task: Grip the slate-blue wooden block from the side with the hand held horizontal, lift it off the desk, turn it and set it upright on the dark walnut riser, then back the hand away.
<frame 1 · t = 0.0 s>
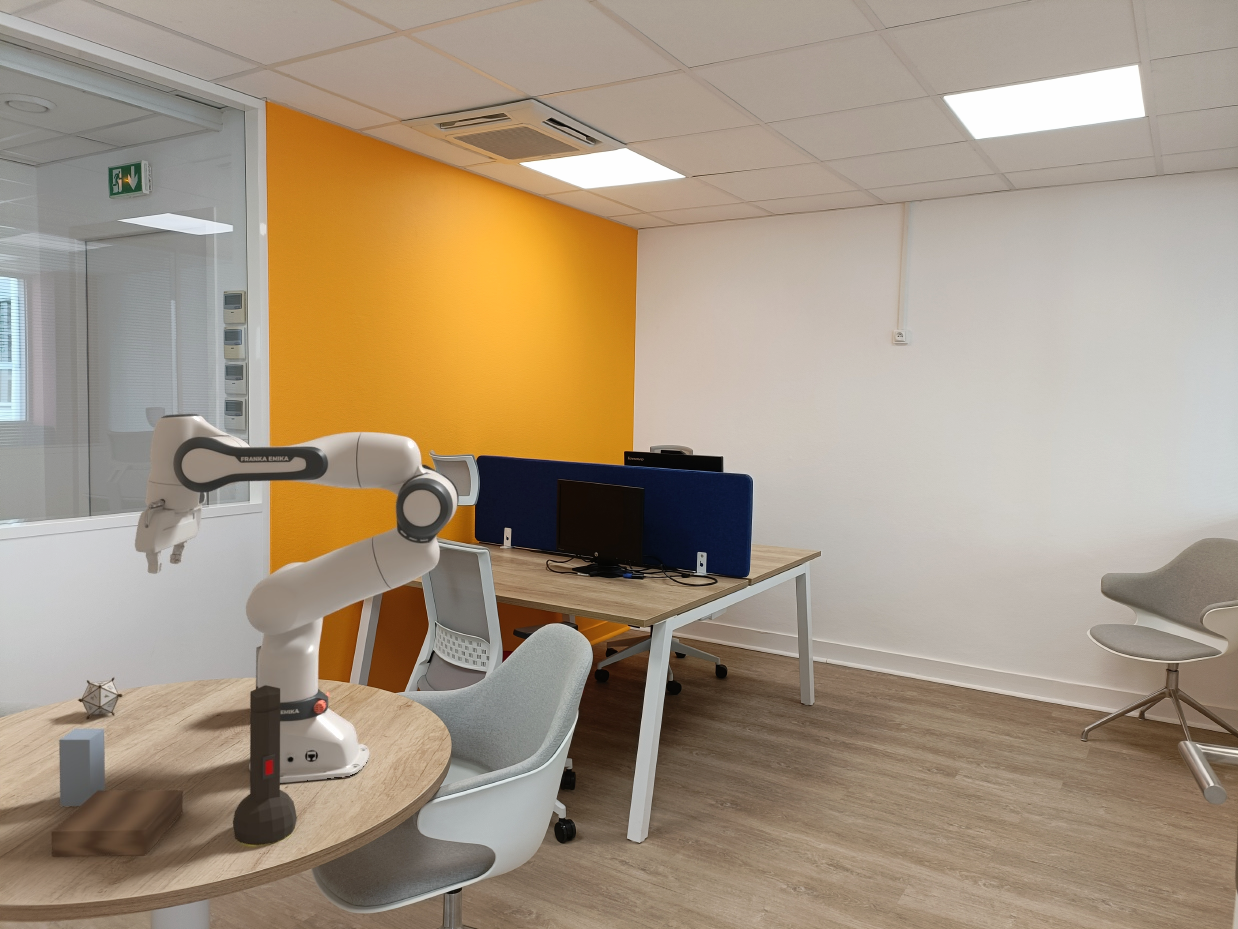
hand: (165, 567, 164), 39 cm above the table, tool pointing down, fingers open, 8 cm apart
walnut riser: (120, 833, 141), on the table
slate block: (83, 800, 152), on the table
game die: (100, 716, 191), on the table
flashlight: (265, 832, 143), on the table
coffee box: (279, 712, 196), on the table
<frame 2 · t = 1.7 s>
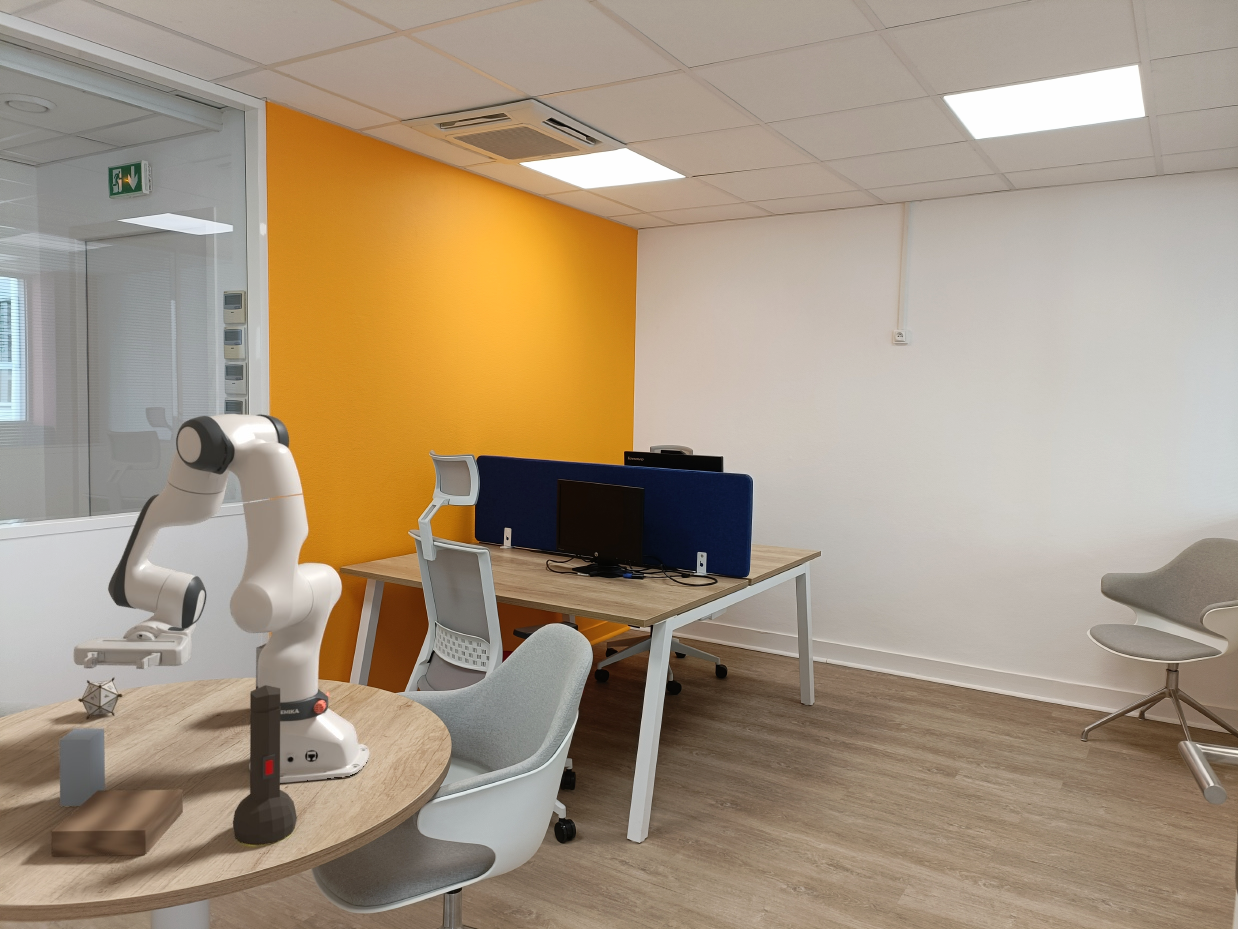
hand: (113, 664, 162), 21 cm above the table, tool horizontal, fingers open, 8 cm apart
nothing on the table moved.
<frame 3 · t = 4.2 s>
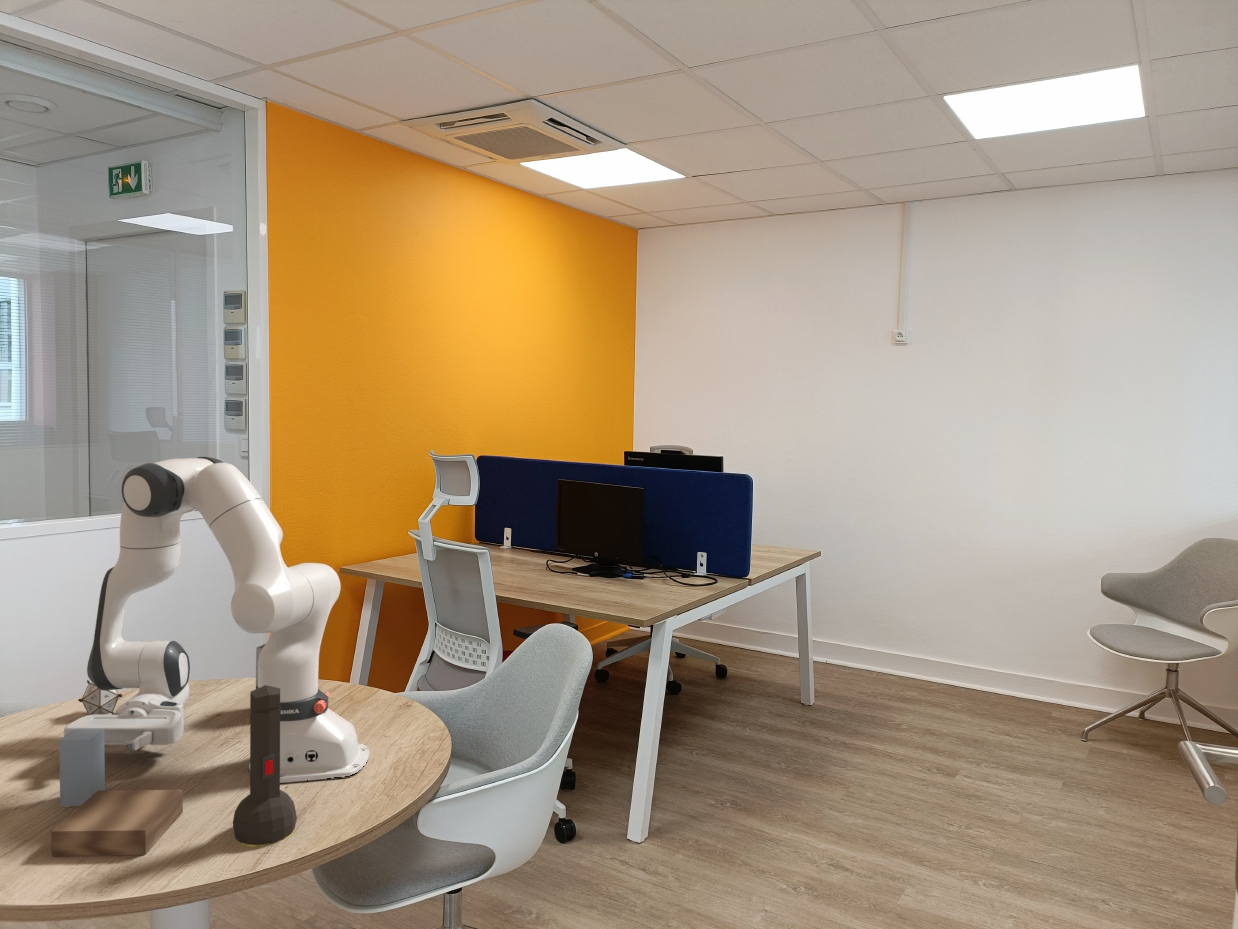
hand: (104, 746, 159), 7 cm above the table, tool horizontal, fingers open, 8 cm apart
nothing on the table moved.
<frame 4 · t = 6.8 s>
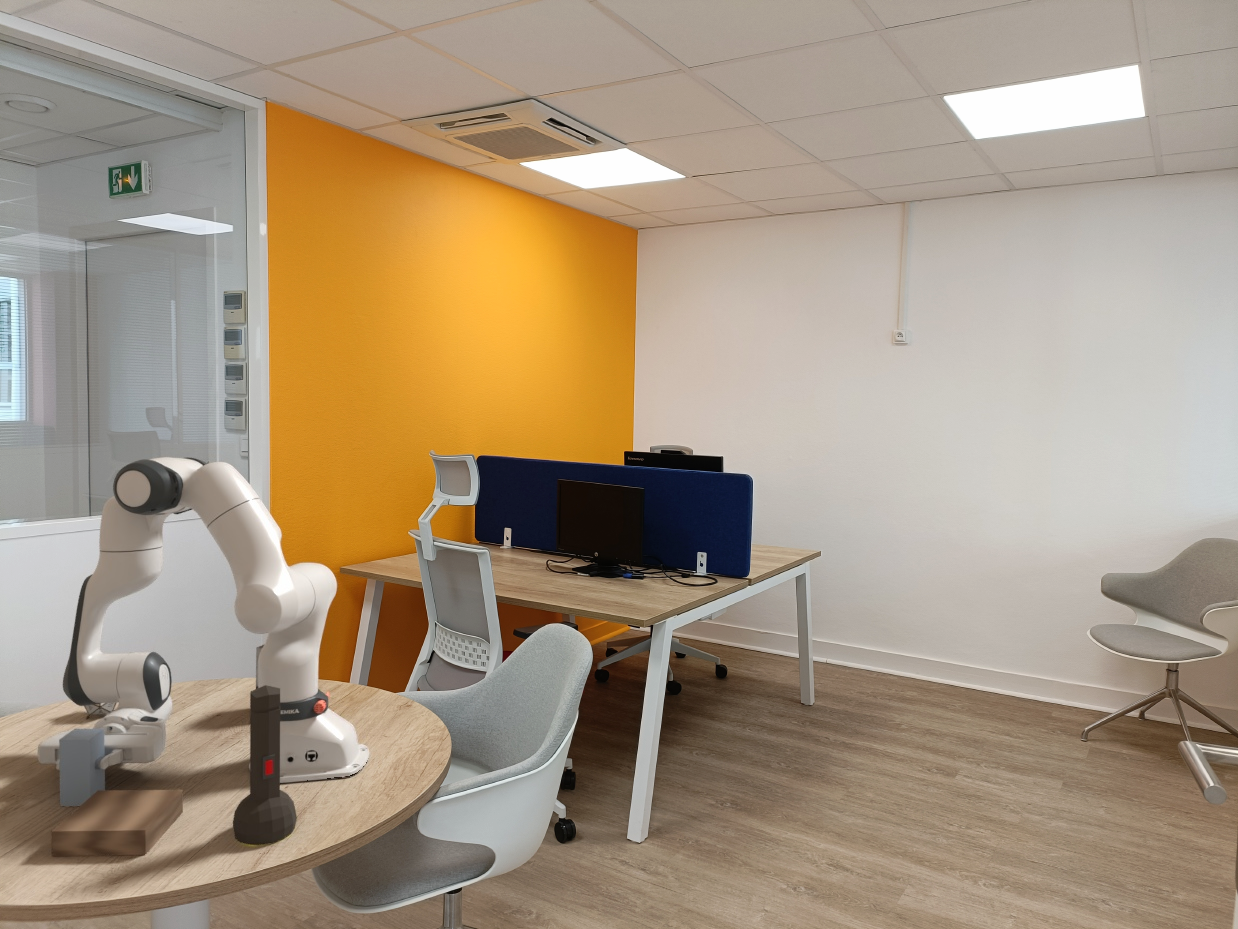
hand: (79, 765, 150), 7 cm above the table, tool horizontal, fingers closed on slate block, 5 cm apart
slate block: (83, 800, 152), on the table, touching gripper
everything else where it was.
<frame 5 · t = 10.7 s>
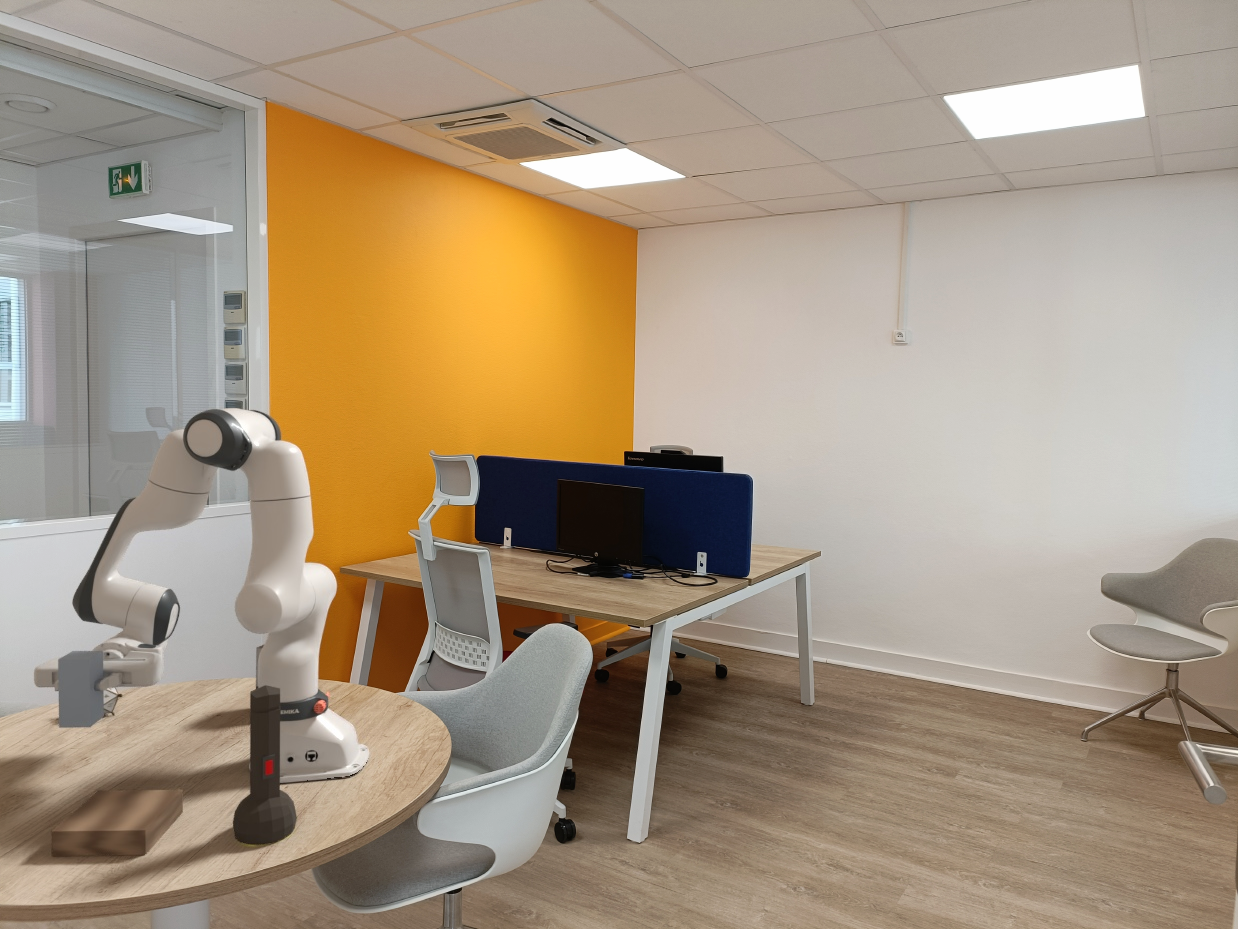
hand: (78, 686, 149), 21 cm above the table, tool horizontal, fingers closed on slate block, 5 cm apart
slate block: (81, 722, 150), point 14 cm above the table, touching gripper
everything else where it was.
when the fingers open (12 cm above the table, at t = 15.1 s): slate block drops 1 cm, resting on walnut riser.
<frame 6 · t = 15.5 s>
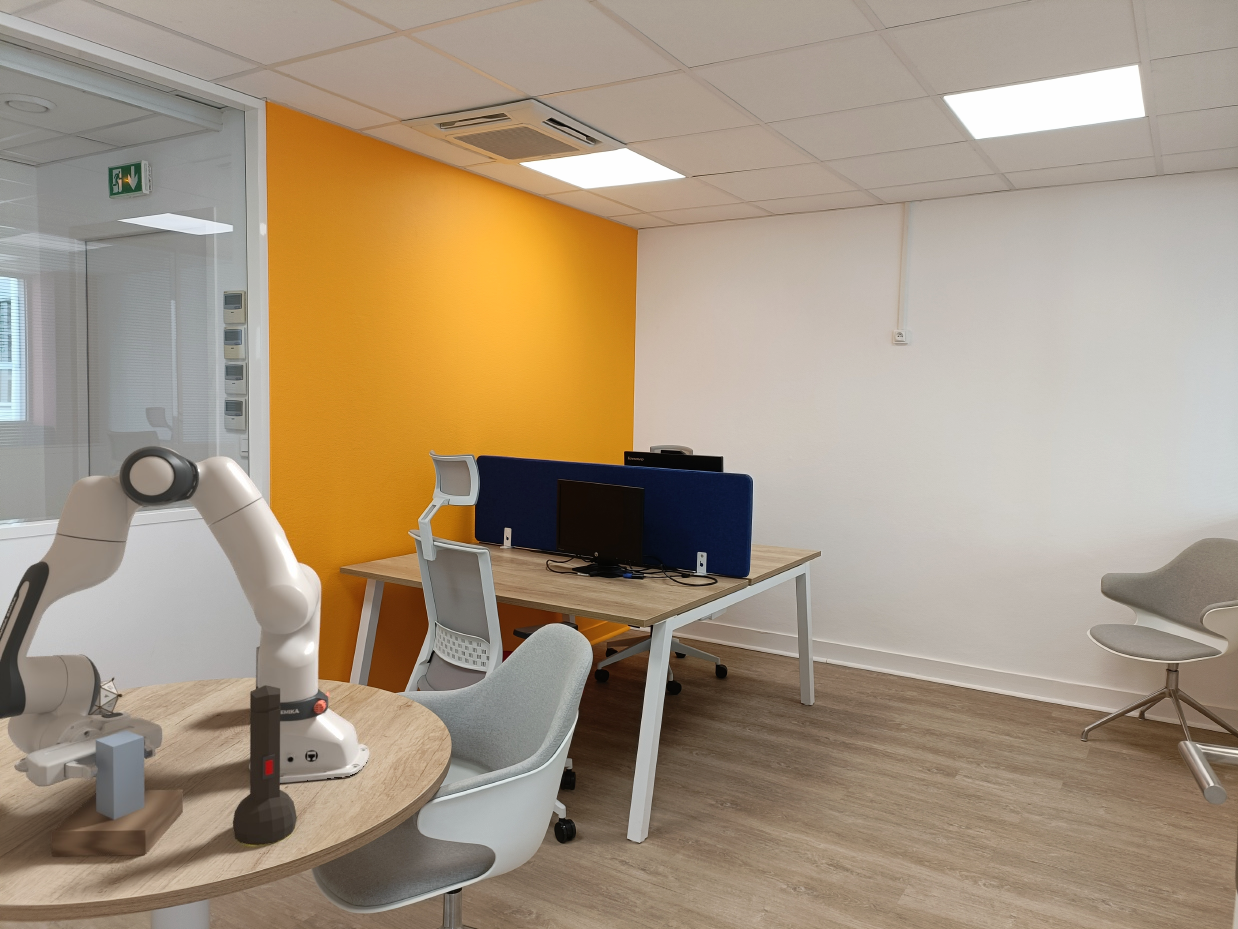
hand: (123, 763, 140), 12 cm above the table, tool horizontal, fingers open, 8 cm apart
slate block: (120, 809, 141), point 4 cm above the table, touching walnut riser
everything else where it was.
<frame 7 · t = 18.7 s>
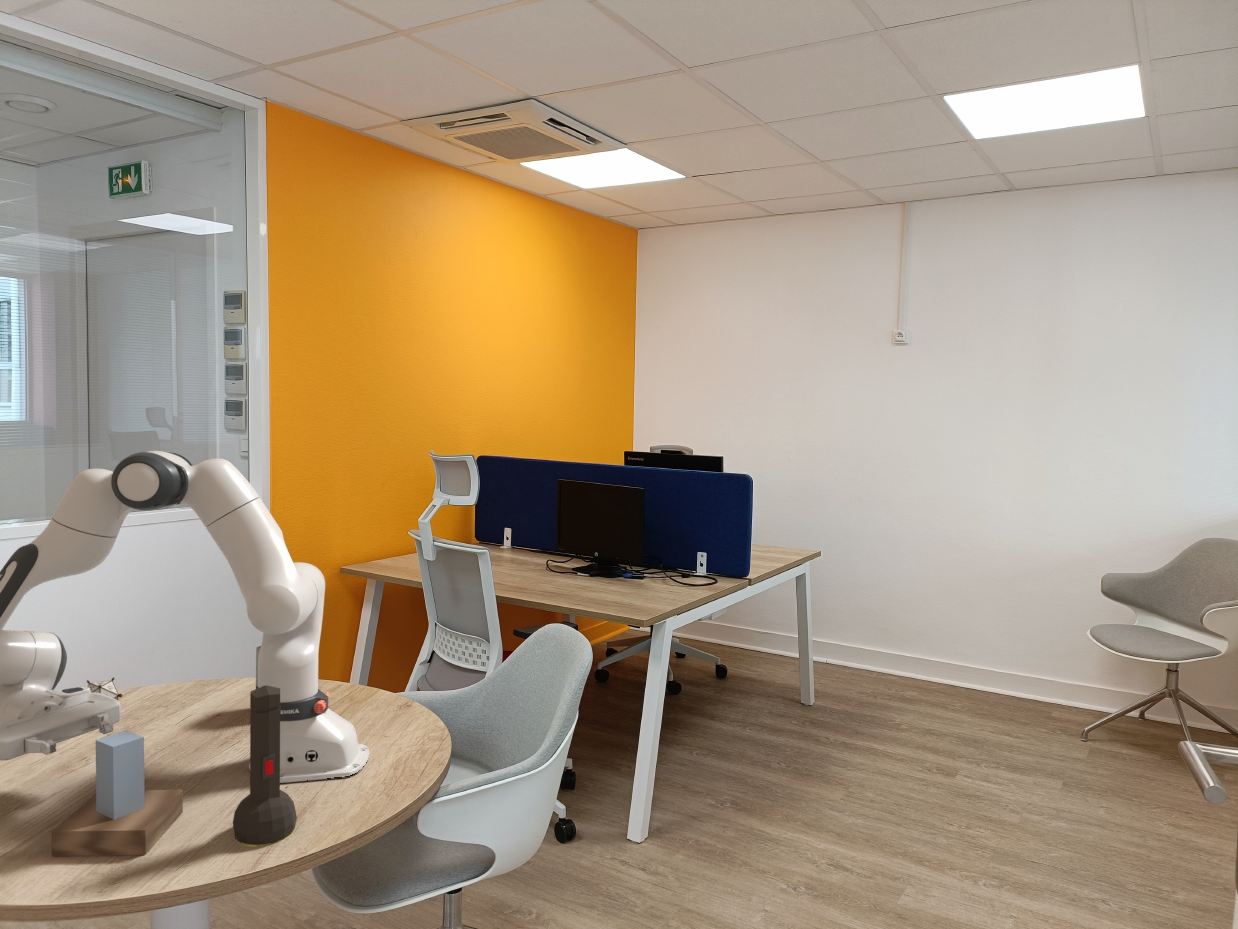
hand: (81, 738, 146), 13 cm above the table, tool horizontal, fingers open, 8 cm apart
nothing on the table moved.
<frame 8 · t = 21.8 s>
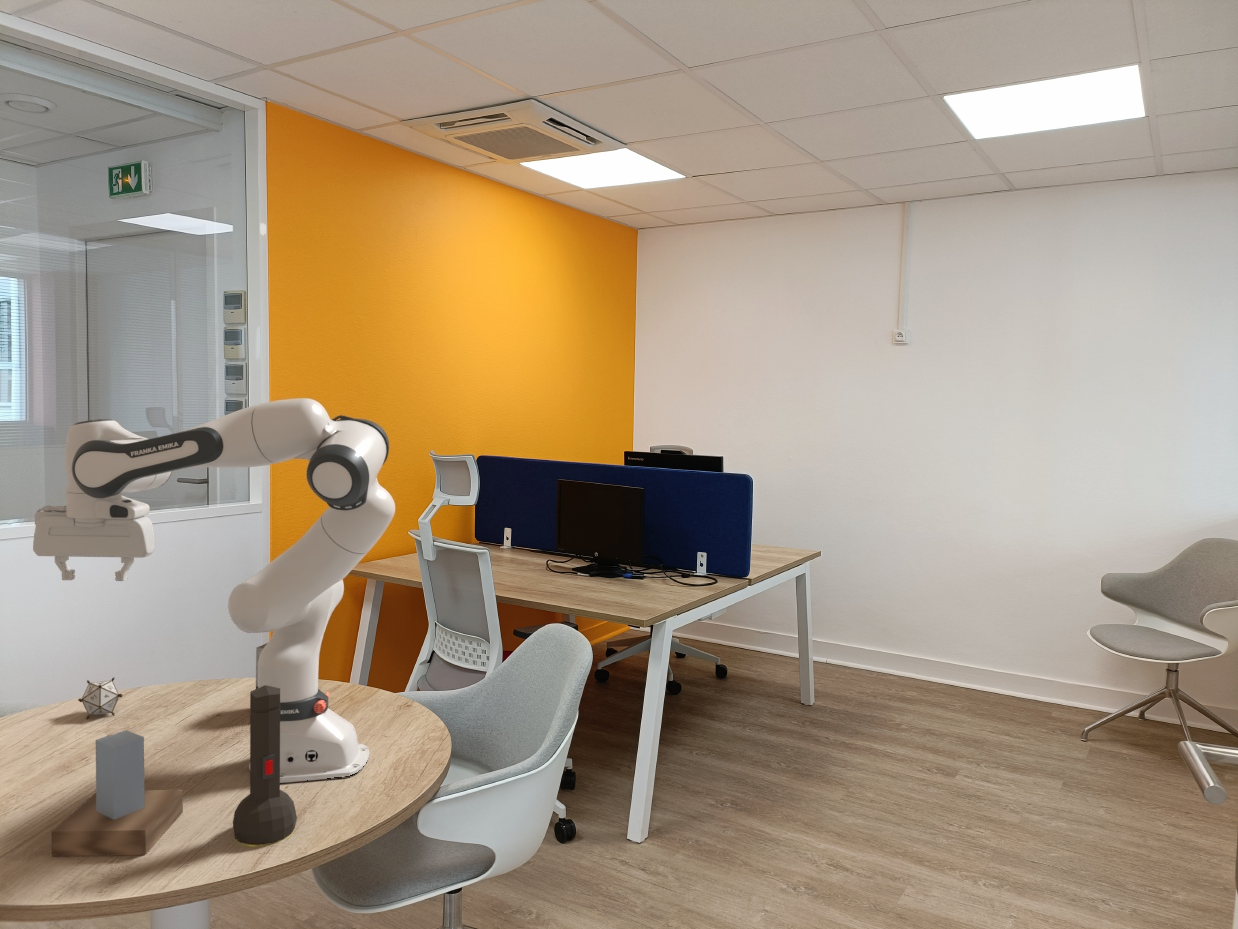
hand: (95, 580, 160), 37 cm above the table, tool pointing down, fingers open, 8 cm apart
nothing on the table moved.
at the end: slate block inside the target area on the walnut riser (0.0 cm from its centre), point 4.0 cm above the walnut riser's base; slate block tilted 0°; the gripper is holding nothing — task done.
